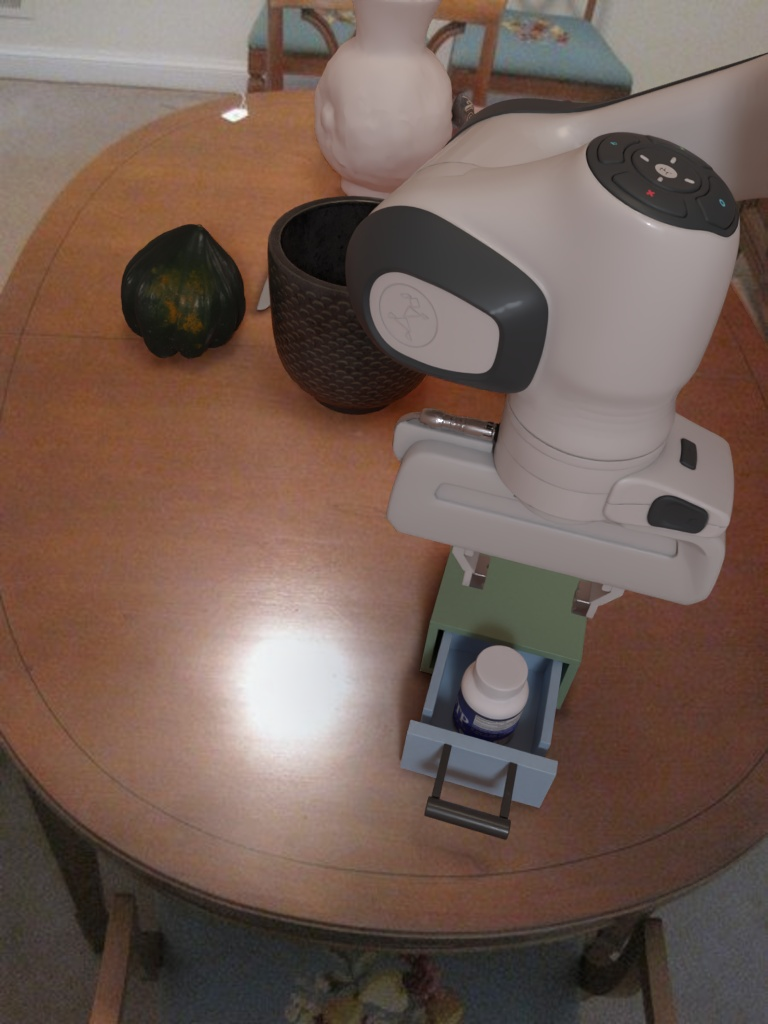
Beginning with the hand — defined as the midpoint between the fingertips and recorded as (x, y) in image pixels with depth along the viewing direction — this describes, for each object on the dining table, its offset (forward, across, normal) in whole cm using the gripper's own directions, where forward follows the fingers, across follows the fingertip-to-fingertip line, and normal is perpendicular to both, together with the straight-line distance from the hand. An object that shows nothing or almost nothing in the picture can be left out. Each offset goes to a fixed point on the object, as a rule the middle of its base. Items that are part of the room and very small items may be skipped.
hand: (527, 594), depth 58 cm
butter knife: (+20, -40, +62) cm, 77 cm away
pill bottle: (+18, 0, 0) cm, 18 cm away
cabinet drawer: (+19, 0, -2) cm, 19 cm away
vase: (+20, -33, +87) cm, 95 cm away
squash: (+20, -45, +42) cm, 65 cm away
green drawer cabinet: (+20, 0, +11) cm, 23 cm away
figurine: (+20, -24, +100) cm, 105 cm away
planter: (+20, -23, +40) cm, 51 cm away
